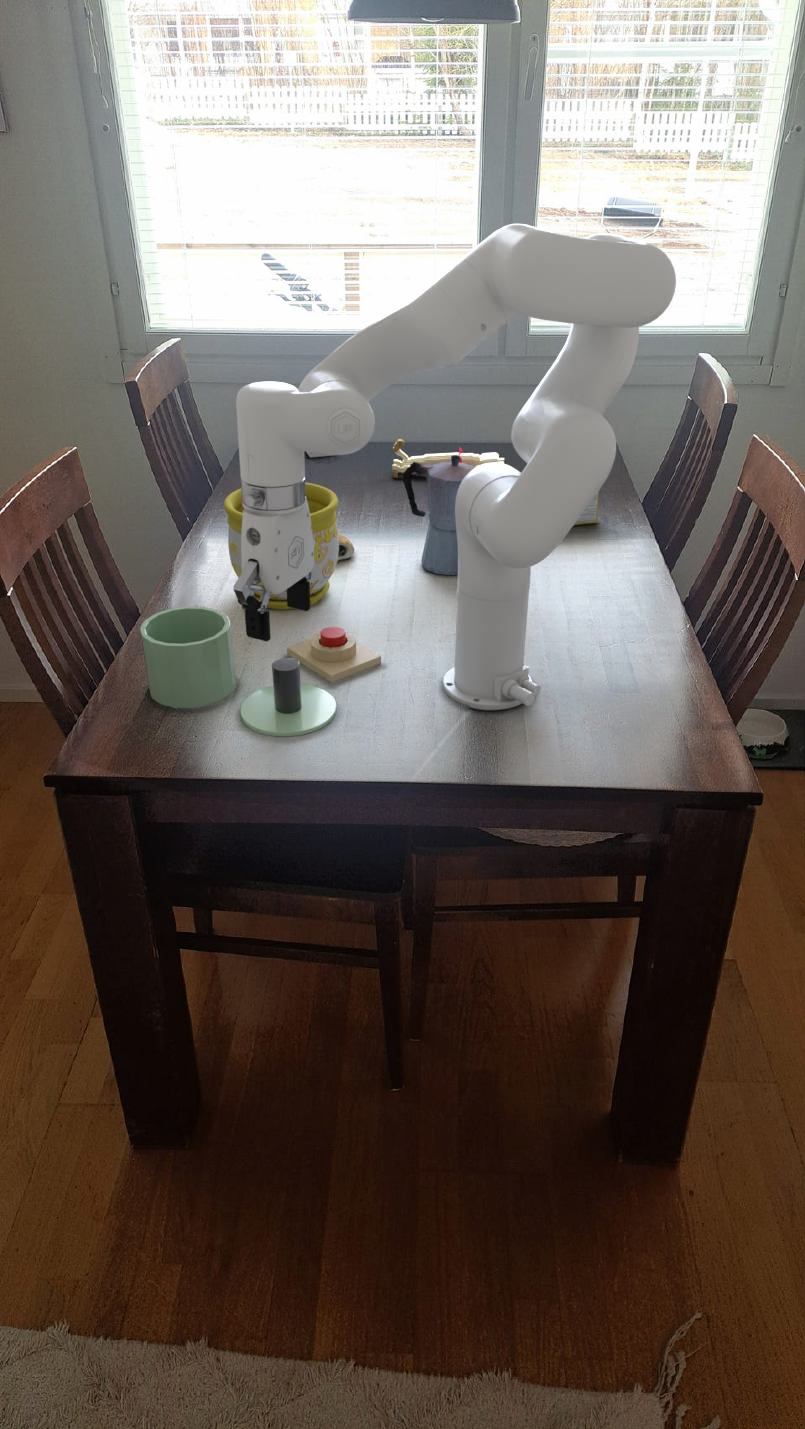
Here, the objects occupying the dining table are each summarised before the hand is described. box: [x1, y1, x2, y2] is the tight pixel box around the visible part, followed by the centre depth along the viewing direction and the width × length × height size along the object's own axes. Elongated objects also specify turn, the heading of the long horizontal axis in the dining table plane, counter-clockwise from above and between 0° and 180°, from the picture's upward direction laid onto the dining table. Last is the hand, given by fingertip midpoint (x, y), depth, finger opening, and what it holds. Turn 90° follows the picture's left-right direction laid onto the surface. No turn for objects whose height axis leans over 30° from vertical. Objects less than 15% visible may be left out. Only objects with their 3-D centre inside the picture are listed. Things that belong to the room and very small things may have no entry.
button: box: [319, 626, 346, 648], centre depth 146 cm, size 4×4×2 cm
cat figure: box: [391, 438, 507, 479], centre depth 218 cm, size 10×9×25 cm
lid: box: [239, 657, 337, 737], centre depth 133 cm, size 13×13×8 cm
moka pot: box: [402, 455, 476, 576], centre depth 173 cm, size 10×15×20 cm, turn 78°
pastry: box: [337, 533, 355, 562], centre depth 182 cm, size 9×7×4 cm
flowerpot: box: [223, 482, 339, 611], centre depth 164 cm, size 18×18×16 cm
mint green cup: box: [139, 606, 237, 709], centre depth 138 cm, size 12×12×10 cm
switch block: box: [286, 631, 382, 683], centre depth 147 cm, size 11×9×4 cm
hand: (279, 622), depth 128 cm, fingers open, 9 cm apart
